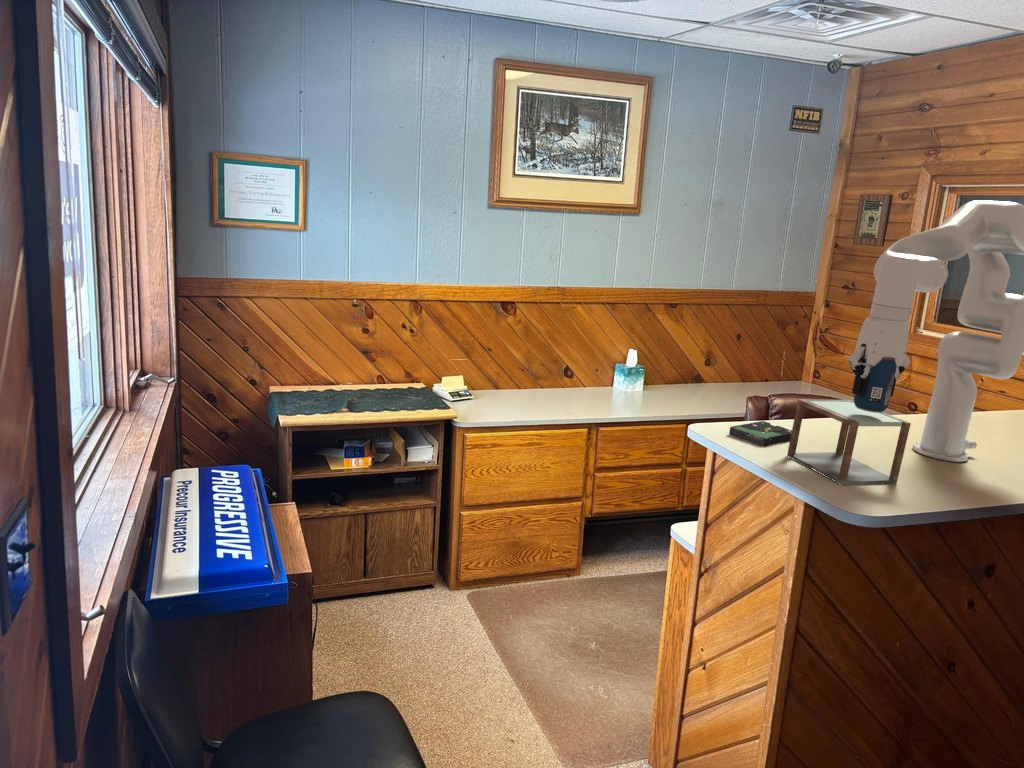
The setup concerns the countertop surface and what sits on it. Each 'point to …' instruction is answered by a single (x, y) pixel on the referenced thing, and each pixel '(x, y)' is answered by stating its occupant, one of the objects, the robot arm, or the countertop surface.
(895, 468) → the frame
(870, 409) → the soda can
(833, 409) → the trapdoor
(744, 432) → the disk drive
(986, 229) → the robot arm
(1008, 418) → the countertop surface
